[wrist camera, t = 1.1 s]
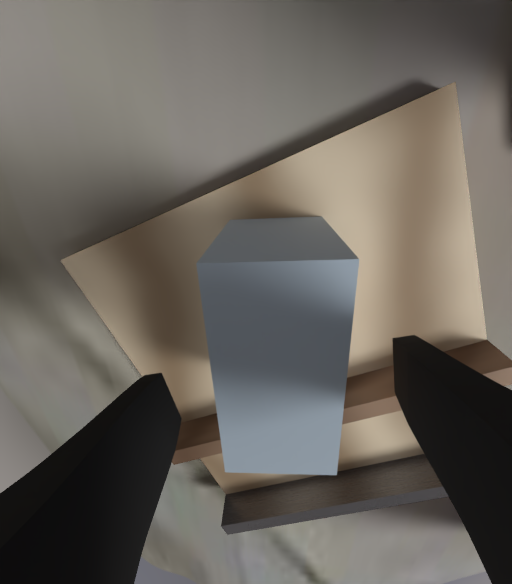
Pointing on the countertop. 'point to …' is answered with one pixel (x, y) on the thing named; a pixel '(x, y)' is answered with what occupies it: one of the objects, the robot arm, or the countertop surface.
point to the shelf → (370, 282)
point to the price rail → (332, 495)
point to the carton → (279, 341)
